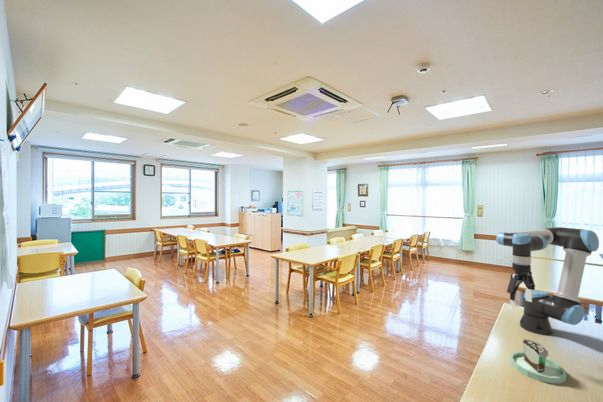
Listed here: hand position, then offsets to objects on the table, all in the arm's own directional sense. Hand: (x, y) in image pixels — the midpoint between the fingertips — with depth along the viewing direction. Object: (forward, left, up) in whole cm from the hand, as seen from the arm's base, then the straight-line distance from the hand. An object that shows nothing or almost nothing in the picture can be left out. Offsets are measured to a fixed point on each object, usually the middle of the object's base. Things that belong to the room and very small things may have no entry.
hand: (521, 303), depth 144 cm
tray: (+9, +12, -25) cm, 30 cm away
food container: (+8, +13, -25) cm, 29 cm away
